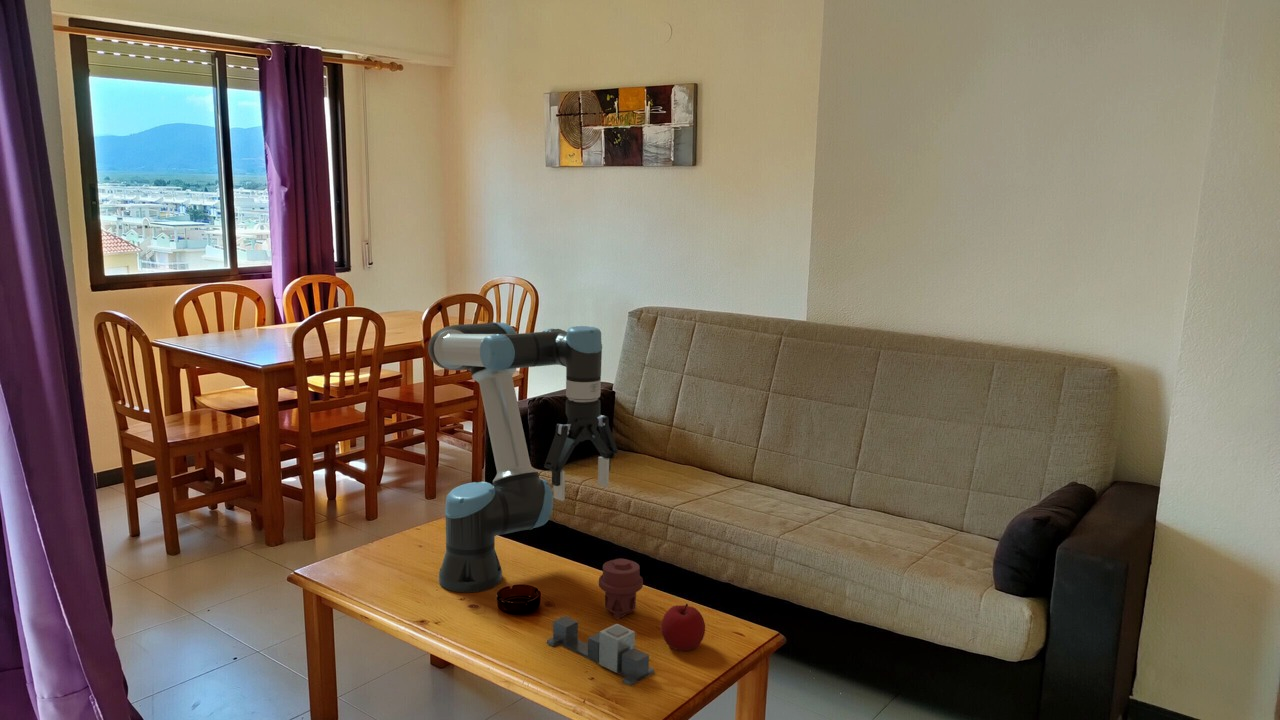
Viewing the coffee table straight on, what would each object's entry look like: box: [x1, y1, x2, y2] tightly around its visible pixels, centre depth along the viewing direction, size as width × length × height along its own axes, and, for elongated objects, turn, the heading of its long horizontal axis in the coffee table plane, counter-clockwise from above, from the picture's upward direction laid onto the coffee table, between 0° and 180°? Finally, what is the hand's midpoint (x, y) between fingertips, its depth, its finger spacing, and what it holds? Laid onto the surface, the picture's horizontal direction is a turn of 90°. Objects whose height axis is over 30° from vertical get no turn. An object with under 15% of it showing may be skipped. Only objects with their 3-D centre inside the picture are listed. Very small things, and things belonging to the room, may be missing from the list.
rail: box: [546, 615, 655, 687], centre depth 185 cm, size 24×7×4 cm, turn 48°
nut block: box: [599, 623, 636, 674], centre depth 181 cm, size 5×5×7 cm
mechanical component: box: [598, 558, 644, 620], centre depth 205 cm, size 12×10×10 cm
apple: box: [660, 603, 706, 652], centre depth 190 cm, size 9×9×10 cm
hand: (581, 492), depth 200 cm, fingers open, 13 cm apart
